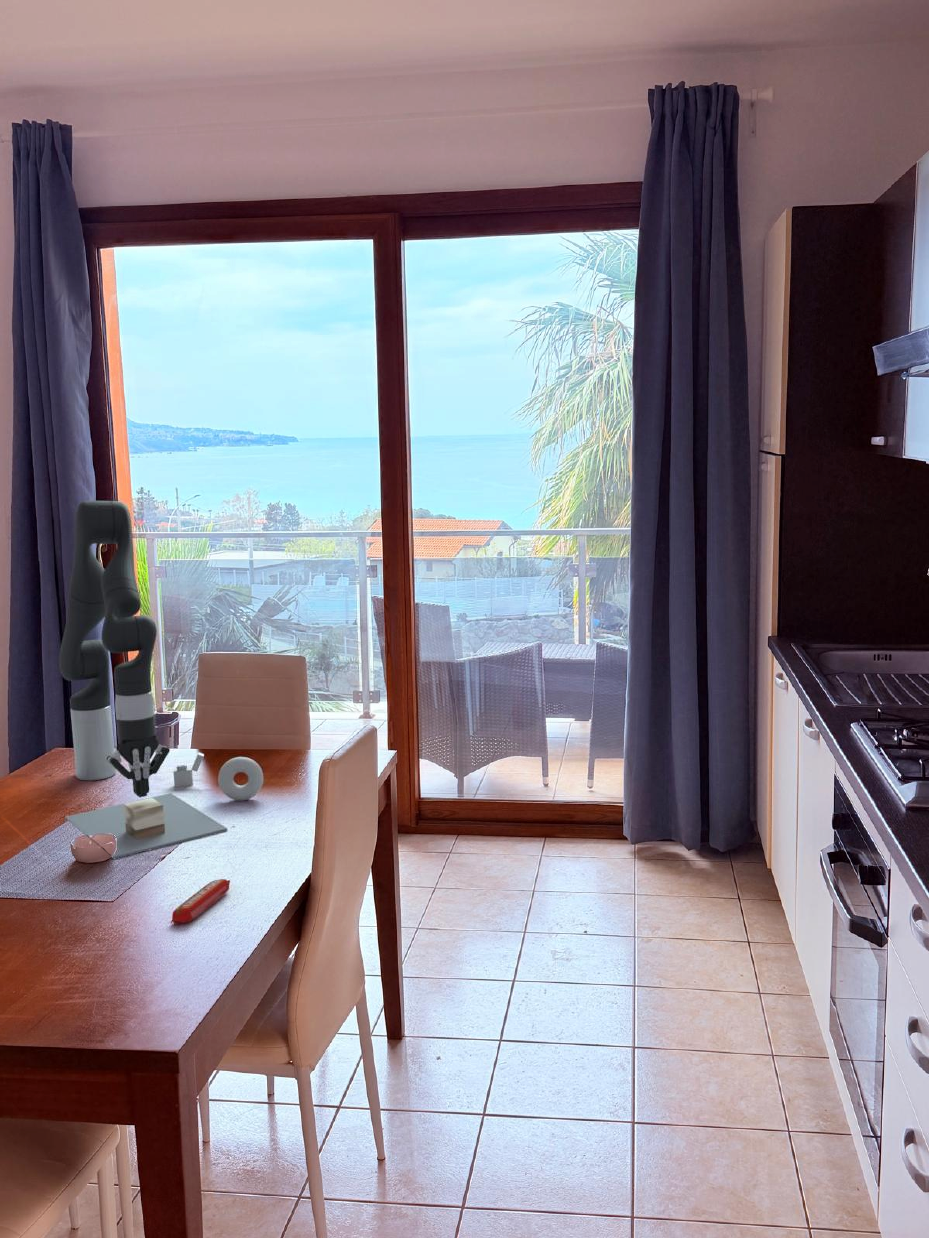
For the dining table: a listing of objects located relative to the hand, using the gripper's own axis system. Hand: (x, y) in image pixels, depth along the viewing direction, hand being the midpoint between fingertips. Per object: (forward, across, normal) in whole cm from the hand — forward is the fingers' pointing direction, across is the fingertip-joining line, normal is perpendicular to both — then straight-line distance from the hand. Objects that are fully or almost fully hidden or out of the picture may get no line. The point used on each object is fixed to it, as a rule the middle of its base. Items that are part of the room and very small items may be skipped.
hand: (141, 795), depth 227 cm
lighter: (+8, -20, -23) cm, 32 cm away
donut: (+8, -25, -6) cm, 27 cm away
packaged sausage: (+9, +6, +42) cm, 43 cm away
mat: (+8, -2, -5) cm, 10 cm away
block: (+2, 0, +1) cm, 2 cm away
